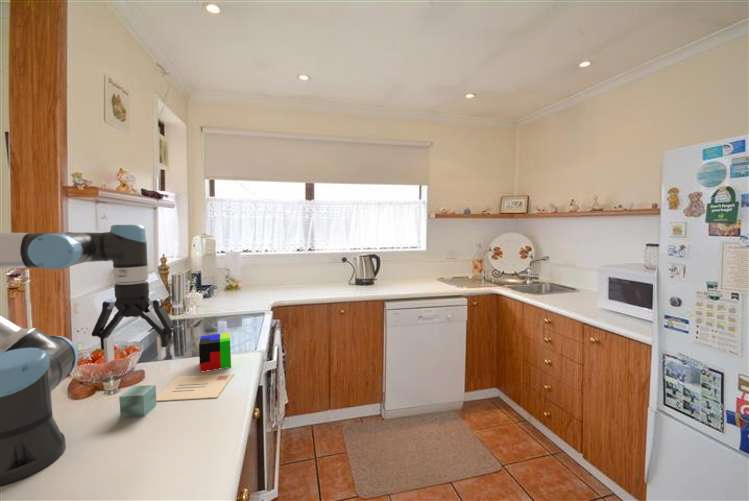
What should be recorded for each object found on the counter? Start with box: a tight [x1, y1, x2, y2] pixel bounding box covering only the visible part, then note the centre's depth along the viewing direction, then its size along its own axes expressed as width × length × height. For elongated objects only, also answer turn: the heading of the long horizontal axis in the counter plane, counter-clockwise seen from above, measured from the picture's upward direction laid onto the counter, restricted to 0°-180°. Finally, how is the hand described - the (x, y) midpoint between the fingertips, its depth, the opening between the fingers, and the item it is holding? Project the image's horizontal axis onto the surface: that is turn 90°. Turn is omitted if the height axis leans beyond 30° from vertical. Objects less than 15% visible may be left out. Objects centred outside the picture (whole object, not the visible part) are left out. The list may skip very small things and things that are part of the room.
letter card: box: [156, 373, 235, 402], centre depth 107 cm, size 18×16×1 cm
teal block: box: [118, 384, 157, 419], centre depth 93 cm, size 6×6×6 cm
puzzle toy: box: [198, 332, 232, 373], centre depth 124 cm, size 10×10×10 cm
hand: (136, 359), depth 92 cm, fingers open, 13 cm apart
